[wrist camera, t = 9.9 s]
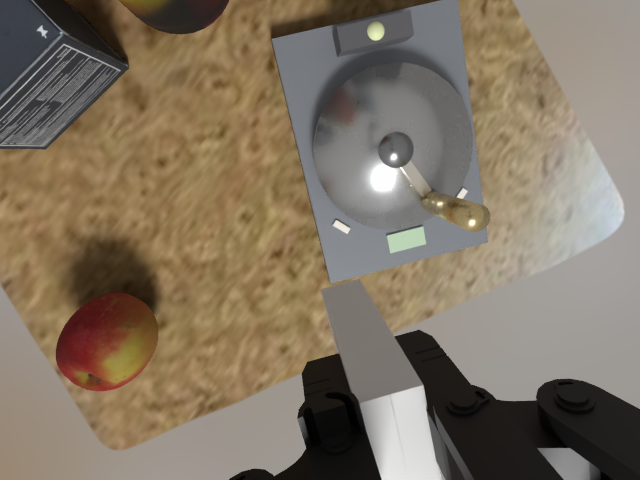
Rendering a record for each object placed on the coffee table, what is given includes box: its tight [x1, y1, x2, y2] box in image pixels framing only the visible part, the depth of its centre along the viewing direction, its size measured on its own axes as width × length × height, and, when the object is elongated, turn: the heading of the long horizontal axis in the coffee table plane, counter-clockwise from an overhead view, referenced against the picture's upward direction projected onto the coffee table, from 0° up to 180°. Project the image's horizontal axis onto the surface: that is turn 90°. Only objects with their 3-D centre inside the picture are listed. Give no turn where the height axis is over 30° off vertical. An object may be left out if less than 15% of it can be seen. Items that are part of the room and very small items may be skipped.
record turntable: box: [272, 0, 488, 283], centre depth 35 cm, size 22×16×4 cm
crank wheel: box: [313, 62, 490, 232], centre depth 31 cm, size 14×14×9 cm
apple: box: [56, 292, 158, 391], centre depth 34 cm, size 8×8×8 cm
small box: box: [0, 0, 129, 149], centre depth 28 cm, size 11×6×10 cm, turn 131°
